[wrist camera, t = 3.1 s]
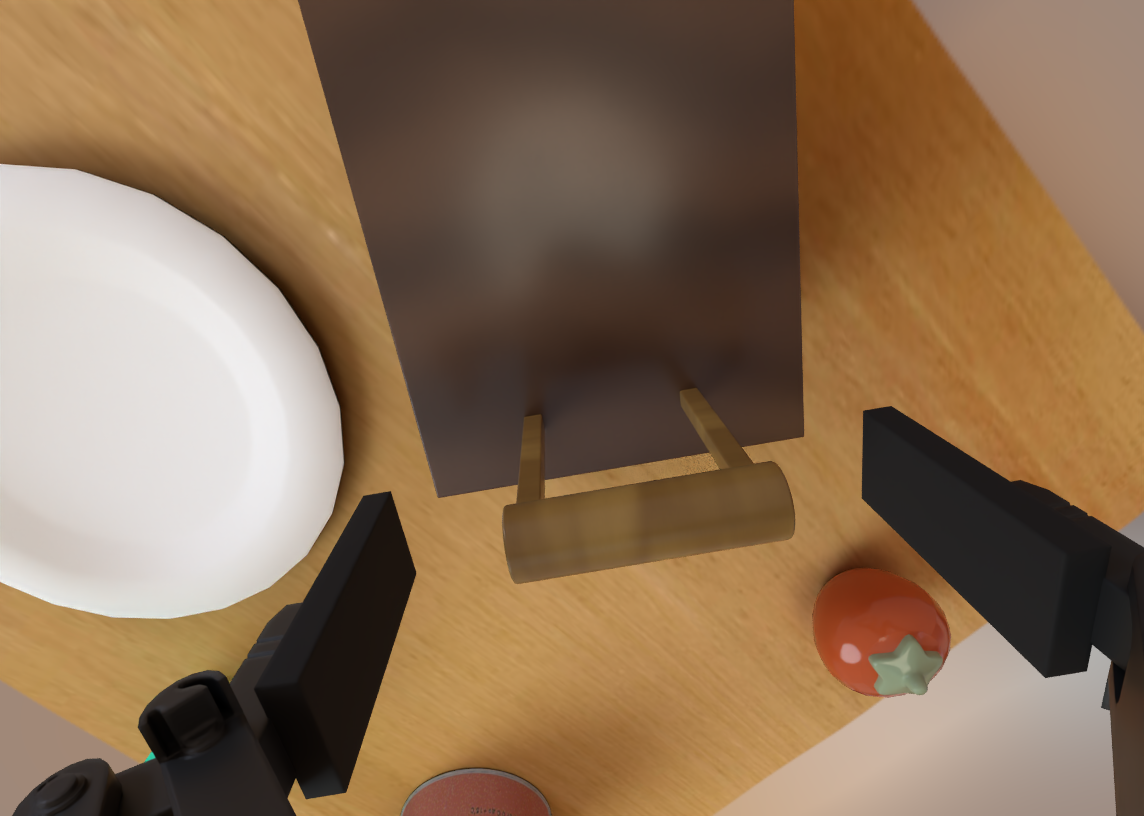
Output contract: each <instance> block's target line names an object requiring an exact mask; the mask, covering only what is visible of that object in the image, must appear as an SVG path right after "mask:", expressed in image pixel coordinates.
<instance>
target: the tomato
mask: <svg viewBox="0 0 1144 816" xmlns="http://www.w3.org/2000/svg"><path fill="white" fill-rule="evenodd" d="M812 617H813V635H814V642H815V645H816V647H817V650H818V653H819V655H820V657H821V659H822V661H823V663H824V665H825V667H826V668H827V669H828V671H829V672H830V673H831V674H832V675H833V676H834V677H835V678H836V679H837V680H838V681H839V682H841V683H842V684H843V685H844V686H846V687H848V688H849V689H851V690H853V691H856V692H858V693H861V694H864V695H867V696H877V697H894V696H900V695H905V694H907V693H909V694H917V695H923V694H925V693H926V692H927V688H928V687H927V686H928V684H929V682H930V681H931V680H932V679H933V678H934V677H935V676H936V675H937V673H938V672H939V671H940V670H941V669H942V667H943V665H944V663H945V660H946V658H947V656H948V654H949V651H950V642H951V633H950V628H949V625H948V622H947V619H946V616H945V614H944V612H943V610H942V609H941V608H940V606H939V605H938V603H937V602H936V601H935V600H934V599H933V598H932V597H931V596H930V595H929V594H928V593H927V592H926V591H925V590H923V589H922V588H921V587H919V586H918V585H917V584H916V583H914V582H912V581H909V580H907V579H905V578H903V577H901V576H898V575H896V574H894V573H891V572H889V571H886V570H880V569H875V568H865V567H861V568H855V569H849V570H846V571H844V572H842V573H840V574H837V575H836V576H834V577H833V578H831V579H830V580H829V581H827V583H826V584H825V585H824V586H823V588H822V589H821V590H820V592H819V593H818V595H817V598H816V601H815V604H814V609H813V614H812Z"/></svg>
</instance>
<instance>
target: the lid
mask: <svg viewBox="0 0 1144 816" xmlns="http://www.w3.org/2000/svg"><path fill="white" fill-rule="evenodd" d="M298 2H299V6H300V9H301V13H302V16H303V20H304V23H305V27H306V30H307V34H308V38H309V41H310V45H311V48H312V52H313V55H314V59H315V63H316V66H317V70H318V73H319V77H320V80H321V84H322V87H323V91H324V95H325V98H326V102H327V105H328V109H329V112H330V116H331V119H332V123H333V127H334V130H335V134H336V137H337V141H338V144H339V148H340V151H341V155H342V159H343V162H344V166H345V169H346V173H347V176H348V180H349V183H350V187H351V191H352V194H353V198H354V201H355V205H356V208H357V212H358V215H359V219H360V223H361V226H362V230H363V233H364V237H365V240H366V244H367V247H368V251H369V255H370V258H371V262H372V265H373V269H374V272H375V276H376V280H377V283H378V287H379V290H380V294H381V297H382V301H383V304H384V308H385V312H386V315H387V319H388V322H389V326H390V329H391V333H392V336H393V340H394V344H395V347H396V351H397V354H398V358H399V361H400V365H401V368H402V372H403V376H404V379H405V383H406V386H407V390H408V393H409V397H410V400H411V404H412V408H413V411H414V415H415V418H416V422H417V425H418V429H419V432H420V436H421V440H422V443H423V447H424V450H425V454H426V457H427V461H428V464H429V468H430V472H431V475H432V479H433V482H434V486H435V489H436V493H437V497H438V498H441V497H447V496H453V495H459V494H465V493H471V492H477V491H483V490H488V489H494V488H500V487H506V486H512V485H518V490H517V502H516V504H510V505H506V506H505V507H504V509H503V516H502V528H503V540H504V548H505V554H506V559H507V564H508V568H509V572H510V575H511V578H512V580H513V581H514V583H515V584H522V583H528V582H534V581H540V580H546V579H552V578H558V577H564V576H570V575H577V574H583V573H589V572H595V571H601V570H607V569H613V568H619V567H625V566H631V565H637V564H643V563H649V562H656V561H662V560H668V559H674V558H680V557H686V556H692V555H698V554H704V553H710V552H716V551H722V550H728V549H735V548H741V547H747V546H753V545H759V544H765V543H771V542H777V541H783V540H788V539H790V538H792V536H793V534H794V530H795V512H794V505H793V500H792V496H791V492H790V489H789V486H788V483H787V480H786V478H785V476H784V474H783V472H782V470H781V469H780V467H779V466H778V465H777V464H776V463H775V462H772V461H768V462H762V463H756V464H754V463H753V462H752V461H751V459H750V458H749V457H748V455H747V454H746V453H745V451H744V450H743V449H742V447H745V446H751V445H757V444H763V443H769V442H775V441H781V440H787V439H793V438H799V437H804V411H803V370H802V328H801V287H800V245H799V204H798V162H797V120H796V79H795V37H794V0H298ZM709 452H710V454H711V455H712V457H713V459H714V460H715V462H716V463H717V465H718V467H719V468H720V470H714V471H708V472H702V473H696V474H690V475H684V476H678V477H672V478H666V479H660V480H654V481H648V482H642V483H636V484H630V485H624V486H618V487H612V488H606V489H600V490H594V491H588V492H582V493H576V494H570V495H564V496H558V497H552V498H546V499H545V480H548V479H554V478H560V477H566V476H572V475H578V474H584V473H590V472H596V471H602V470H608V469H614V468H620V467H626V466H632V465H638V464H644V463H650V462H656V461H662V460H668V459H674V458H680V457H685V456H691V455H697V454H703V453H709Z"/></svg>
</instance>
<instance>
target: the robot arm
mask: <svg viewBox="0 0 1144 816" xmlns="http://www.w3.org/2000/svg"><path fill="white" fill-rule="evenodd" d="M862 499H863V500H864V501H865V502H866V503H867V504H868V505H869V506H870V507H871V508H872V509H873V510H874V511H875V512H876V513H877V514H878V515H879V516H881V517H882V518H883V519H884V520H885V521H886V522H887V523H888V524H889V525H890V526H891V527H892V528H893V529H894V530H895V531H896V532H897V533H898V534H899V535H900V536H901V537H902V538H903V539H904V540H905V541H906V542H907V543H908V544H909V545H910V546H911V547H912V548H913V549H914V550H915V551H916V552H917V553H918V554H919V555H920V556H921V557H922V558H923V559H924V560H925V561H926V562H927V563H928V564H930V565H931V566H932V567H933V568H934V569H935V570H936V571H937V572H938V573H939V574H940V575H941V576H942V577H943V578H944V579H945V580H946V581H947V582H948V583H949V584H950V585H951V586H952V587H953V588H954V589H955V590H956V591H957V592H958V593H959V594H960V595H961V596H962V597H963V598H964V599H965V600H966V601H967V602H968V603H969V604H970V605H971V606H972V607H973V608H974V609H975V610H976V611H977V612H979V613H980V614H981V615H982V616H983V617H984V618H985V619H986V620H987V621H988V622H989V623H990V624H991V625H992V626H993V627H994V628H995V629H996V630H997V631H998V632H999V633H1000V634H1001V635H1002V636H1003V637H1004V638H1005V639H1006V640H1007V641H1008V642H1009V643H1010V644H1011V645H1012V646H1013V647H1014V648H1015V649H1016V650H1017V651H1018V652H1019V653H1020V654H1022V656H1023V657H1024V658H1025V659H1027V660H1028V661H1029V662H1030V663H1031V664H1032V665H1033V666H1034V667H1035V668H1036V669H1037V670H1038V671H1039V672H1040V673H1041V674H1042V675H1043V676H1044V677H1045V678H1048V677H1054V676H1060V675H1066V674H1073V673H1079V672H1084V671H1087V668H1088V663H1089V658H1090V652H1091V648H1092V645H1094V646H1095V647H1096V648H1097V649H1098V650H1100V651H1101V652H1102V653H1103V654H1104V655H1106V656H1107V657H1108V658H1109V659H1110V660H1111V665H1110V670H1109V674H1108V679H1107V683H1106V688H1105V692H1104V697H1103V702H1102V706H1101V708H1104V709H1107V710H1110V715H1111V733H1112V749H1113V766H1114V783H1115V800H1116V816H1144V547H1142V546H1141V545H1138V544H1137V543H1135V542H1134V541H1132V540H1131V539H1129V538H1127V537H1126V536H1124V535H1122V534H1121V533H1119V532H1117V531H1116V530H1114V529H1112V528H1111V527H1109V526H1107V525H1106V524H1104V523H1102V522H1101V521H1099V520H1097V519H1096V518H1094V517H1092V516H1088V515H1087V513H1086V512H1084V511H1083V510H1081V509H1079V508H1078V507H1076V506H1074V505H1072V506H1071V505H1070V503H1069V502H1068V501H1066V500H1064V499H1063V498H1061V497H1059V496H1058V495H1056V494H1054V493H1053V492H1051V491H1049V490H1047V489H1044V488H1042V487H1039V486H1036V485H1033V484H1030V483H1027V482H1024V481H1021V480H1018V481H1012V482H1010V481H1009V480H1007V479H1005V478H1004V477H1002V476H1001V475H999V474H998V473H996V472H994V471H993V470H991V469H990V468H988V467H986V466H985V465H983V464H982V463H980V462H979V461H977V460H975V459H974V458H972V457H971V456H969V455H968V454H966V453H964V452H963V451H961V450H960V449H958V448H957V447H955V446H953V445H952V444H950V443H949V442H947V441H945V440H944V439H942V438H941V437H939V436H938V435H936V434H934V433H933V432H931V431H930V430H928V429H927V428H925V427H923V426H922V425H920V424H919V423H917V422H916V421H914V420H912V419H911V418H909V417H908V416H906V415H904V414H903V413H901V412H900V411H898V410H897V409H895V408H893V407H892V406H889V407H883V408H877V409H871V410H865V411H863V458H862ZM415 576H416V570H415V567H414V564H413V561H412V557H411V554H410V551H409V548H408V545H407V541H406V538H405V535H404V532H403V529H402V526H401V522H400V519H399V516H398V513H397V510H396V506H395V503H394V500H393V497H392V494H391V491H389V492H383V493H378V494H372V495H366V496H363V498H362V499H361V501H360V503H359V505H358V506H357V508H356V510H355V512H354V513H353V515H352V517H351V519H350V520H349V522H348V524H347V526H346V527H345V529H344V531H343V533H342V534H341V536H340V538H339V540H338V541H337V543H336V545H335V547H334V548H333V550H332V552H331V554H330V556H329V557H328V559H327V561H326V563H325V564H324V566H323V568H322V570H321V571H320V573H319V575H318V577H317V578H316V580H315V582H314V584H313V585H312V587H311V589H310V591H309V592H308V594H307V596H306V598H305V599H304V601H303V602H302V603H296V604H290V605H286V606H285V607H284V608H283V609H282V610H281V611H280V612H279V613H278V614H276V615H275V616H274V617H273V618H272V619H271V620H270V621H269V622H268V623H267V625H266V626H265V628H264V629H263V631H262V633H261V634H260V636H259V637H258V639H257V644H254V645H253V647H252V649H251V650H250V652H249V653H248V655H247V656H248V658H247V659H245V660H244V661H243V663H242V665H241V666H240V668H239V669H238V671H237V673H236V674H235V676H234V678H233V679H232V681H231V682H230V684H229V682H228V680H227V678H226V676H225V675H224V674H222V673H221V672H220V671H211V670H207V671H203V672H198V673H194V674H191V675H189V676H187V677H185V678H183V679H181V680H178V681H176V682H175V683H173V684H172V685H170V686H169V687H167V688H166V689H164V690H163V691H162V692H160V693H159V694H158V695H157V696H156V697H155V698H154V699H153V700H152V701H151V702H150V703H149V704H148V705H147V706H146V708H145V709H144V711H143V713H142V714H141V716H140V717H139V725H138V729H139V730H140V732H141V734H142V735H143V737H144V739H145V740H146V742H147V744H148V745H149V747H150V749H151V751H152V752H153V754H154V756H155V757H156V758H154V759H151V760H149V761H147V762H144V763H142V764H139V765H137V766H134V767H132V768H129V769H127V770H125V771H122V772H120V773H117V774H114V772H113V771H112V769H111V767H110V766H109V764H108V763H107V762H105V761H104V760H102V759H100V758H99V759H86V760H83V761H80V762H77V763H75V764H71V765H69V766H68V767H66V768H64V769H62V770H60V771H58V772H57V773H55V774H53V775H51V776H50V777H49V778H47V779H46V780H45V781H44V782H42V783H41V784H39V785H38V786H37V787H36V788H34V789H33V790H32V791H31V792H30V793H29V795H28V796H27V797H26V798H25V799H24V800H23V801H22V802H21V803H20V804H19V805H18V807H17V808H16V810H15V812H14V814H13V815H12V816H296V814H295V812H294V810H293V808H292V806H291V804H290V803H289V801H288V799H287V798H288V795H289V793H290V791H291V788H292V786H293V783H294V781H295V778H296V779H297V781H298V783H299V785H300V788H301V790H302V792H303V794H304V796H305V798H306V799H310V798H316V797H322V796H328V795H334V794H340V793H346V792H347V788H348V785H349V782H350V779H351V776H352V773H353V770H354V767H355V764H356V760H357V757H358V754H359V751H360V748H361V745H362V742H363V739H364V735H365V732H366V729H367V726H368V723H369V720H370V717H371V714H372V710H373V707H374V704H375V701H376V698H377V695H378V692H379V689H380V685H381V682H382V679H383V676H384V673H385V670H386V667H387V664H388V660H389V657H390V654H391V651H392V648H393V645H394V642H395V639H396V635H397V632H398V629H399V626H400V623H401V620H402V617H403V614H404V611H405V607H406V604H407V601H408V598H409V595H410V592H411V589H412V586H413V582H414V579H415Z"/></svg>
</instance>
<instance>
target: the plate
mask: <svg viewBox="0 0 1144 816" xmlns="http://www.w3.org/2000/svg"><path fill="white" fill-rule="evenodd" d="M344 463H345V460H344V446H343V433H342V419H341V406H340V403H339V400H338V398H337V395H336V392H335V389H334V386H333V384H332V381H331V378H330V375H329V373H328V370H327V367H326V364H325V361H324V359H323V356H322V353H321V350H320V348H319V346H318V344H317V343H316V341H315V340H314V338H313V337H312V335H311V334H310V332H309V331H308V329H307V328H306V326H305V325H304V323H303V322H302V320H301V319H300V317H299V316H298V314H297V313H296V312H295V310H294V309H293V307H292V306H291V304H290V303H289V301H288V300H287V298H286V297H285V295H284V294H283V292H282V291H281V289H280V288H279V287H278V286H277V285H276V284H275V283H274V282H273V281H272V280H270V279H269V278H268V277H267V276H266V275H265V274H264V273H263V272H262V271H261V270H260V269H259V268H258V267H257V266H256V265H255V264H253V263H252V262H251V261H250V260H249V259H248V258H247V257H246V256H245V255H244V254H243V253H242V252H241V251H240V250H239V249H238V248H236V247H235V246H234V245H233V244H232V243H231V242H230V241H229V240H228V239H227V238H226V237H225V236H223V235H222V234H220V233H218V232H217V231H215V230H213V229H212V228H210V227H208V226H207V225H205V224H203V223H202V222H200V221H198V220H197V219H195V218H193V217H192V216H190V215H188V214H187V213H185V212H183V211H182V210H180V209H178V208H176V207H175V206H173V205H171V204H170V203H168V202H166V201H165V200H163V199H161V198H160V197H158V196H156V195H154V194H151V193H148V192H145V191H142V190H139V189H136V188H133V187H130V186H127V185H124V184H120V183H117V182H114V181H111V180H108V179H105V178H102V177H99V176H96V175H93V174H90V173H87V172H84V171H81V170H76V169H62V168H48V167H34V166H21V165H7V164H0V582H2V583H4V584H6V585H9V586H11V587H13V588H16V589H18V590H21V591H23V592H25V593H28V594H30V595H33V596H35V597H37V598H40V599H42V600H45V601H47V602H49V603H52V604H55V605H59V606H64V607H69V608H73V609H78V610H82V611H87V612H91V613H96V614H100V615H105V616H109V617H121V618H161V619H172V618H177V617H182V616H188V615H193V614H198V613H203V612H209V611H214V610H219V609H224V608H226V607H228V606H230V605H233V604H235V603H237V602H239V601H241V600H243V599H245V598H248V597H250V596H252V595H254V594H256V593H258V592H261V591H263V590H265V589H267V588H269V587H271V586H272V585H273V584H274V583H275V582H276V581H278V580H279V579H280V578H281V577H282V576H283V575H284V574H286V573H287V572H288V571H289V570H290V569H291V568H293V567H294V566H295V565H296V564H297V563H298V562H299V561H301V560H302V559H303V558H304V557H305V556H306V555H307V554H308V552H309V551H310V549H311V547H312V546H313V544H314V542H315V541H316V539H317V538H318V536H319V534H320V533H321V531H322V529H323V528H324V526H325V524H326V523H327V521H328V520H329V518H330V516H331V515H332V513H333V510H334V505H335V501H336V497H337V493H338V488H339V484H340V480H341V475H342V471H343V467H344Z"/></svg>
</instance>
